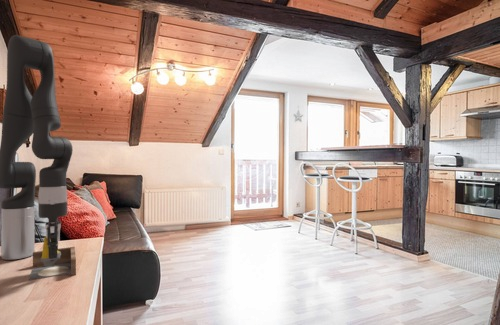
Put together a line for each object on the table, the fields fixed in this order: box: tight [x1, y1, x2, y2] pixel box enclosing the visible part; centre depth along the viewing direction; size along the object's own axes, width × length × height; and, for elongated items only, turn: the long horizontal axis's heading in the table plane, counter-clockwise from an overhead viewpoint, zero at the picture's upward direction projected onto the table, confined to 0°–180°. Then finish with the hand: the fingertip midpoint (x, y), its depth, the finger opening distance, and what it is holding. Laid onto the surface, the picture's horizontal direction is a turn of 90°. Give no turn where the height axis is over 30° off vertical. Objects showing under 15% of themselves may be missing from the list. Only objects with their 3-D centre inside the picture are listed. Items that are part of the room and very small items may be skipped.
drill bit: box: [40, 236, 61, 266], centre depth 93 cm, size 5×5×10 cm
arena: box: [28, 246, 77, 281], centre depth 95 cm, size 15×12×5 cm
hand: (53, 255), depth 93 cm, fingers closed on drill bit, 5 cm apart
